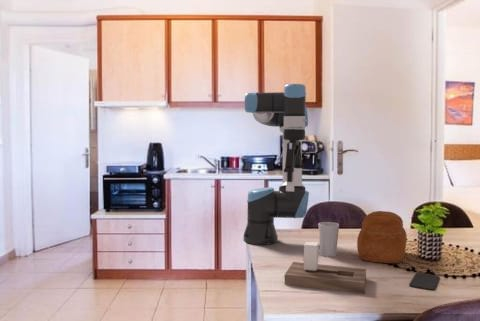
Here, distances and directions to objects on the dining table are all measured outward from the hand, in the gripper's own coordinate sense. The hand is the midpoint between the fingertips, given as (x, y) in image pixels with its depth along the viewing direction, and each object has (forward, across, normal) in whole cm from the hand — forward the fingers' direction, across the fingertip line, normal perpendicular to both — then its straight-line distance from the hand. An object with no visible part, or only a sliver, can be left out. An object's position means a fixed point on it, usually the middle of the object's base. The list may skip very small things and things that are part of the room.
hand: (293, 188), depth 152 cm
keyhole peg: (+27, -14, -8) cm, 32 cm away
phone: (+28, -5, -44) cm, 52 cm away
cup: (+28, +18, -11) cm, 35 cm away
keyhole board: (+27, -14, -13) cm, 34 cm away
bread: (+28, +22, -31) cm, 47 cm away
